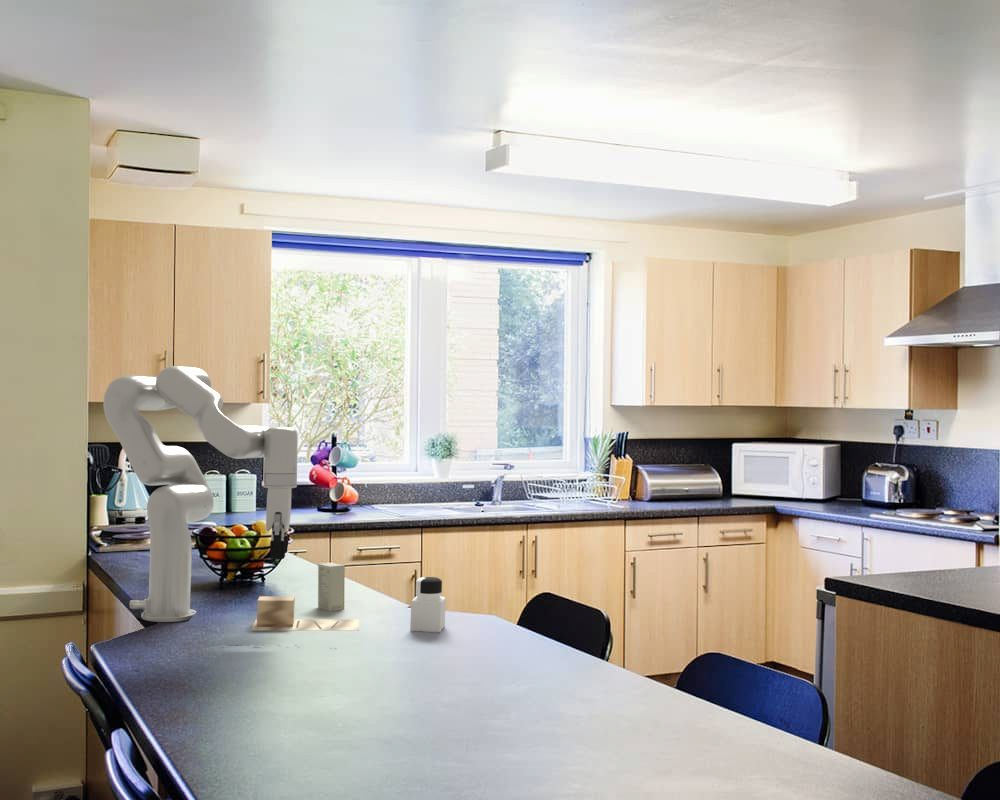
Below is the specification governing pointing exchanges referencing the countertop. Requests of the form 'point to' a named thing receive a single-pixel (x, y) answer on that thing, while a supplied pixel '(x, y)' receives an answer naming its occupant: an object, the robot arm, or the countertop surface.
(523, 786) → the countertop surface
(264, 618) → the block
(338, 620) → the board
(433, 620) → the medicine bottle
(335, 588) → the skincare box
